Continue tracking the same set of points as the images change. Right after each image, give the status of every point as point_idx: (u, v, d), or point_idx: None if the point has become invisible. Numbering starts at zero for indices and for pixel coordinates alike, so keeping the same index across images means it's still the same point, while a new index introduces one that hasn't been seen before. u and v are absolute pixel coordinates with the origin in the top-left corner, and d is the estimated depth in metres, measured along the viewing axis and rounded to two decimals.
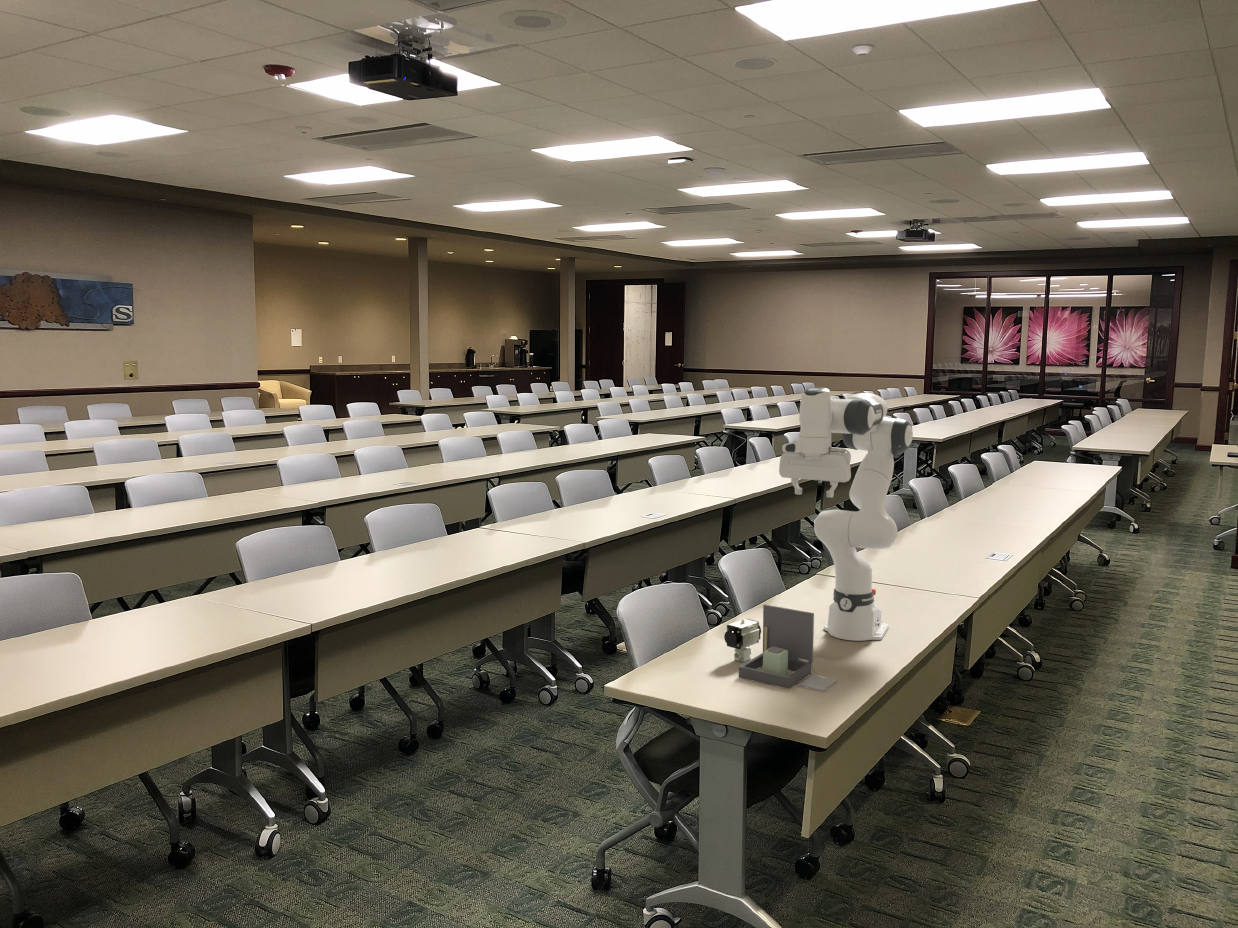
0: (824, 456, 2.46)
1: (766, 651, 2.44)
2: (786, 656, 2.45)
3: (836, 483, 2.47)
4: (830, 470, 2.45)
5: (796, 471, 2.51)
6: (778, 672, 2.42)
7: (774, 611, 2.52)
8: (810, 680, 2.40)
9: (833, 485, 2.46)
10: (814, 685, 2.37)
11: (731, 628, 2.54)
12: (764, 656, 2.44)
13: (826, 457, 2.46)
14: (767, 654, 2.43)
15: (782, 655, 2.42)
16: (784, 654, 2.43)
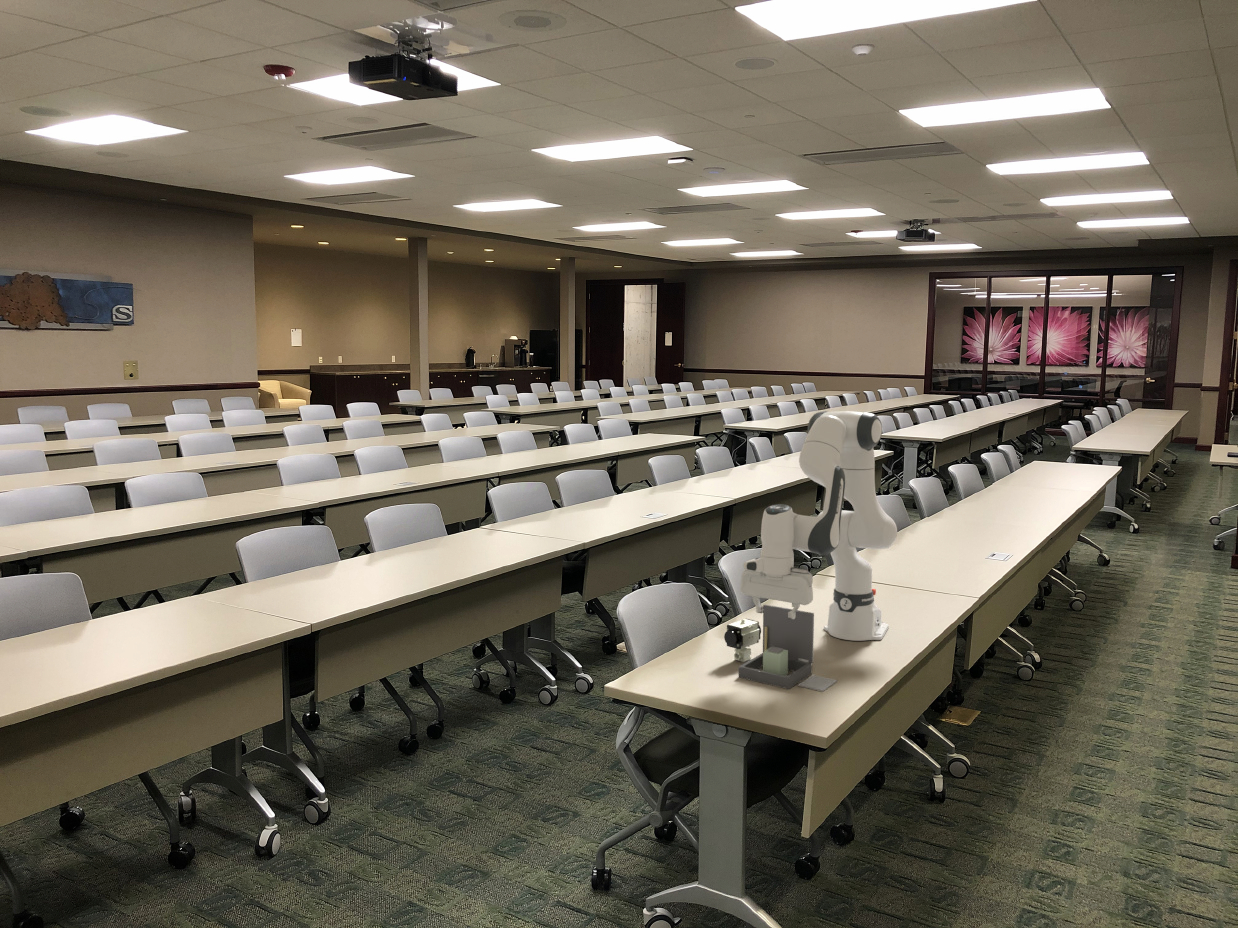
0: (786, 577, 2.38)
1: (766, 651, 2.44)
2: (786, 656, 2.45)
3: (798, 604, 2.39)
4: (791, 592, 2.38)
5: (757, 589, 2.44)
6: (778, 672, 2.42)
7: (774, 611, 2.52)
8: (810, 680, 2.40)
9: (795, 607, 2.38)
10: (814, 685, 2.37)
11: (731, 628, 2.54)
12: (764, 656, 2.44)
13: (788, 578, 2.38)
14: (767, 654, 2.43)
15: (782, 655, 2.42)
16: (784, 654, 2.43)
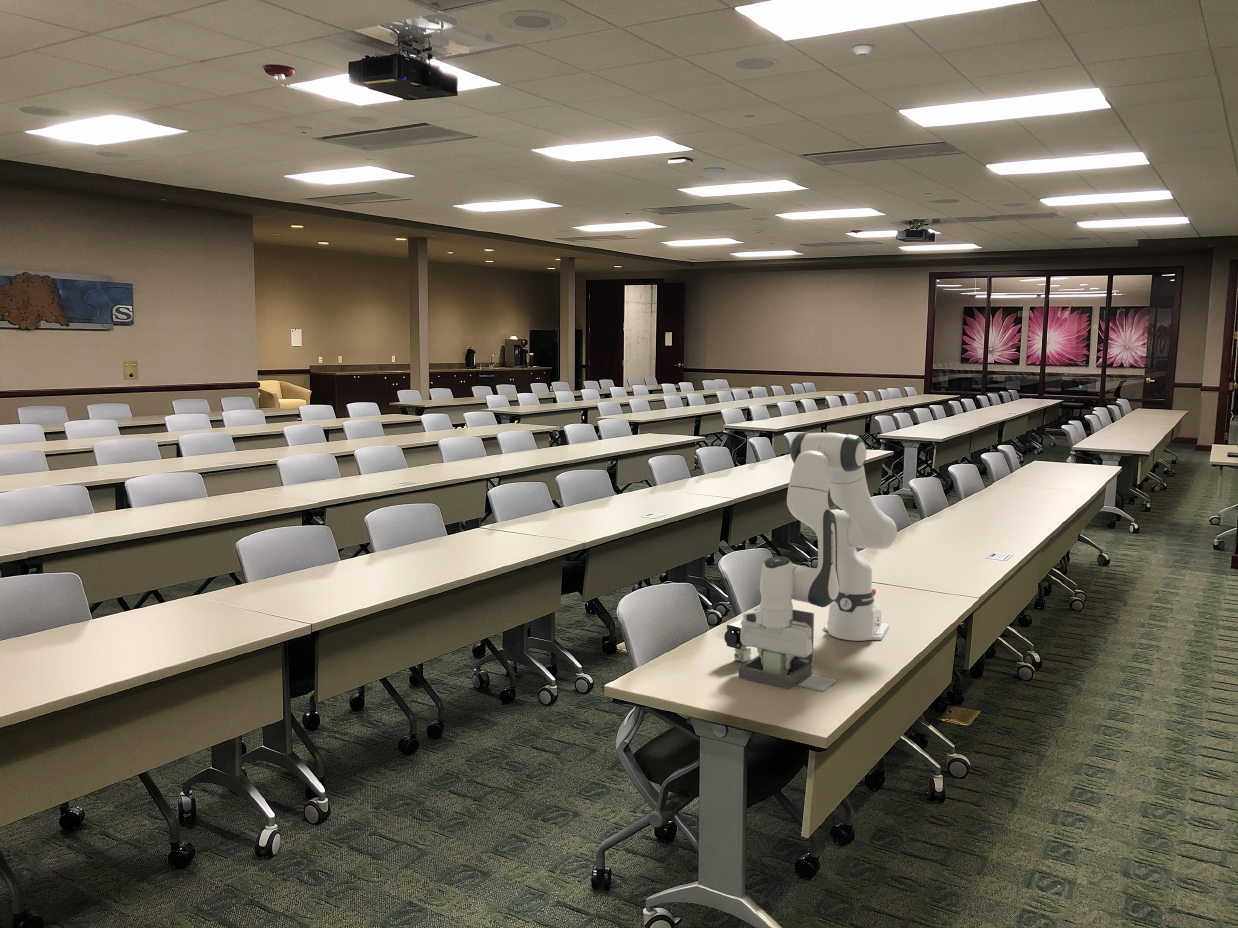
0: (785, 629, 2.40)
1: (766, 651, 2.44)
2: None
3: (792, 655, 2.42)
4: (790, 644, 2.40)
5: (757, 640, 2.46)
6: (778, 672, 2.42)
7: None
8: (810, 680, 2.40)
9: (789, 658, 2.41)
10: (814, 685, 2.37)
11: (731, 628, 2.54)
12: (764, 656, 2.44)
13: (787, 631, 2.40)
14: (767, 654, 2.43)
15: (782, 655, 2.42)
16: (784, 654, 2.43)
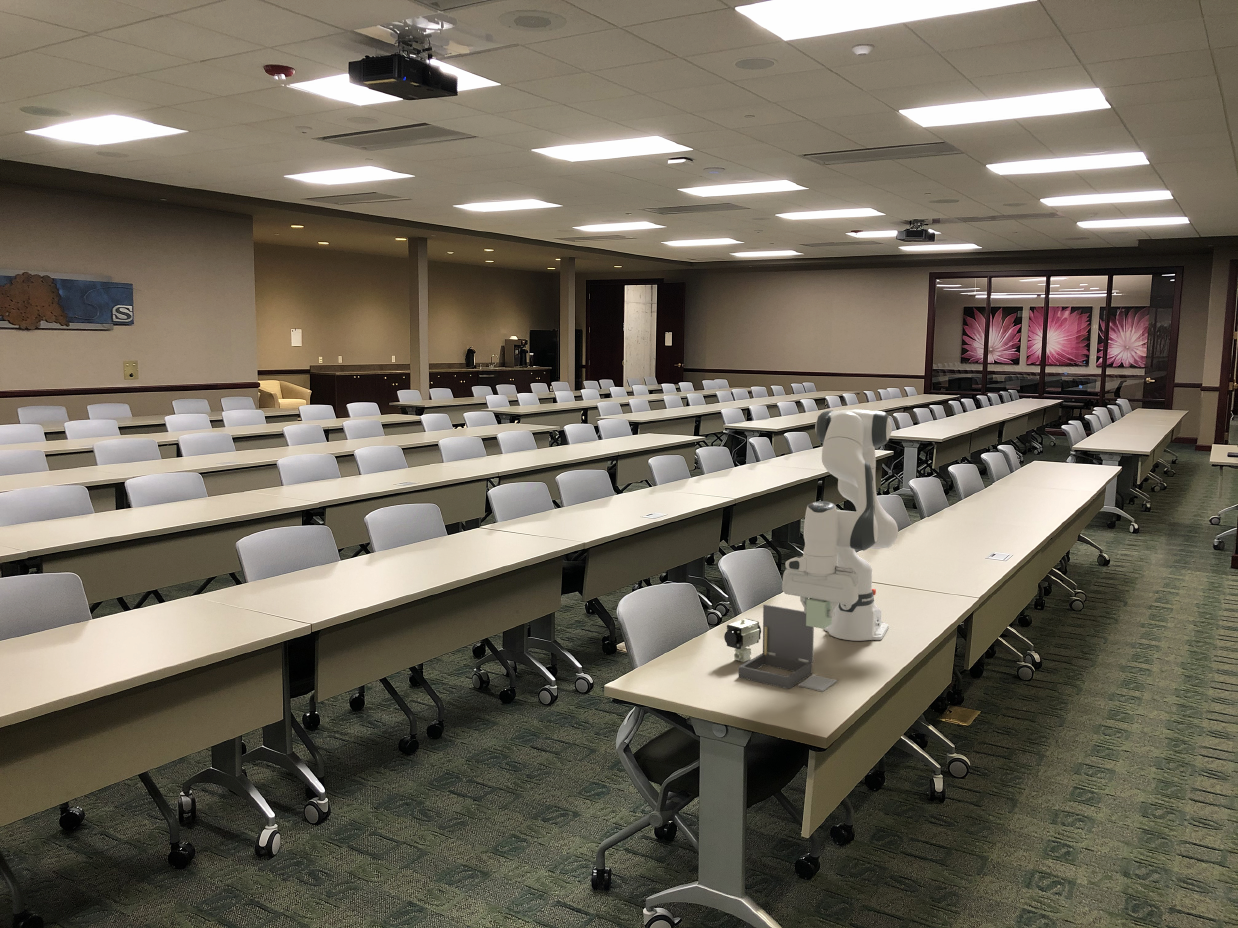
0: (830, 576, 2.32)
1: (810, 599, 2.36)
2: (830, 604, 2.36)
3: (837, 603, 2.34)
4: (836, 591, 2.31)
5: (800, 588, 2.37)
6: (822, 620, 2.34)
7: (774, 611, 2.52)
8: (810, 680, 2.40)
9: (834, 606, 2.33)
10: (814, 685, 2.37)
11: (731, 628, 2.54)
12: (808, 604, 2.36)
13: (832, 577, 2.32)
14: (811, 602, 2.35)
15: (826, 603, 2.34)
16: (828, 602, 2.35)
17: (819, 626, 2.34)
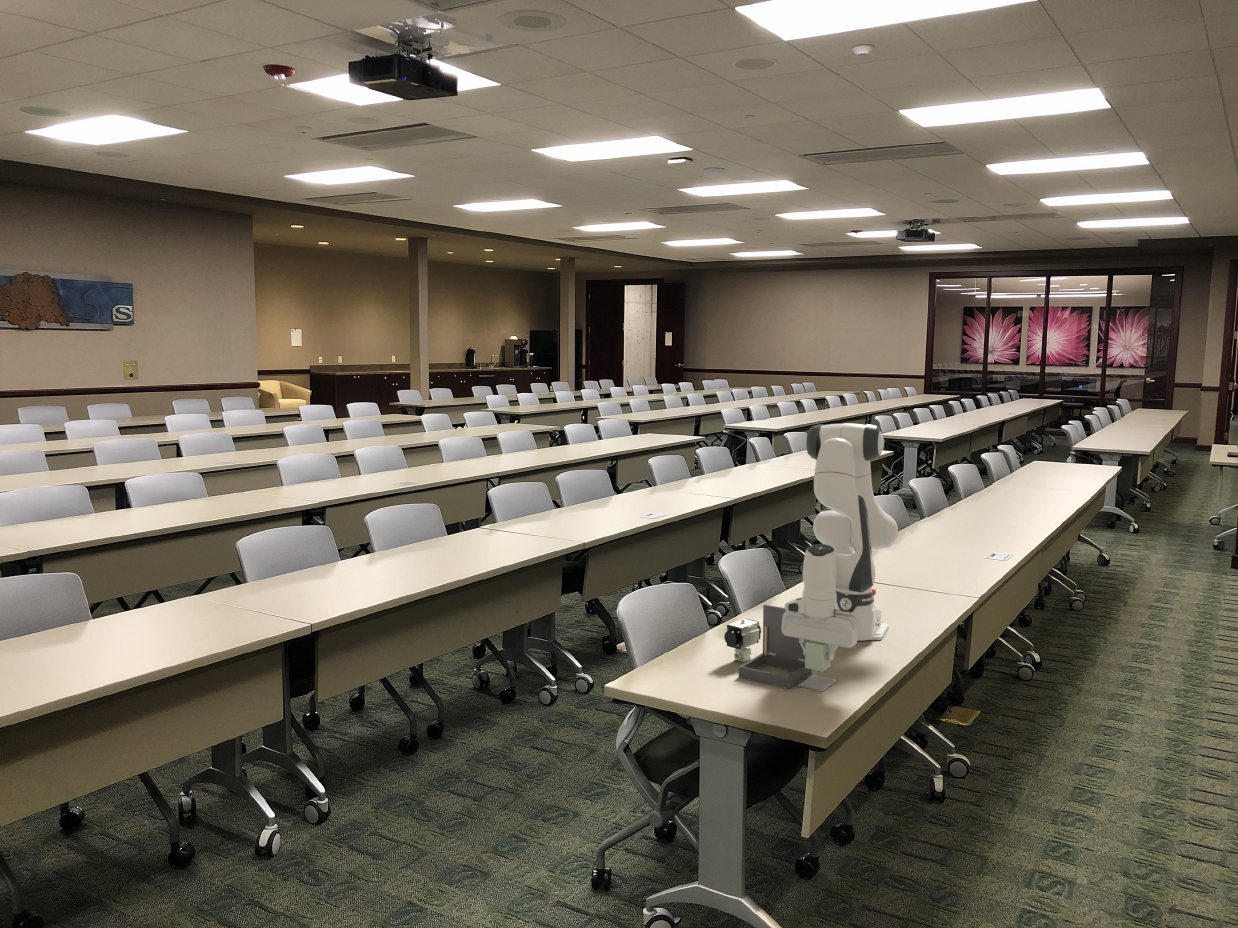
0: (829, 619, 2.33)
1: (809, 641, 2.37)
2: (829, 647, 2.38)
3: (836, 646, 2.35)
4: (835, 634, 2.33)
5: (799, 631, 2.39)
6: (821, 663, 2.35)
7: (774, 611, 2.52)
8: (810, 680, 2.40)
9: (833, 648, 2.34)
10: (814, 685, 2.37)
11: (731, 628, 2.54)
12: (807, 647, 2.37)
13: (831, 621, 2.33)
14: (810, 644, 2.36)
15: (825, 645, 2.35)
16: (827, 645, 2.36)
17: (818, 669, 2.36)
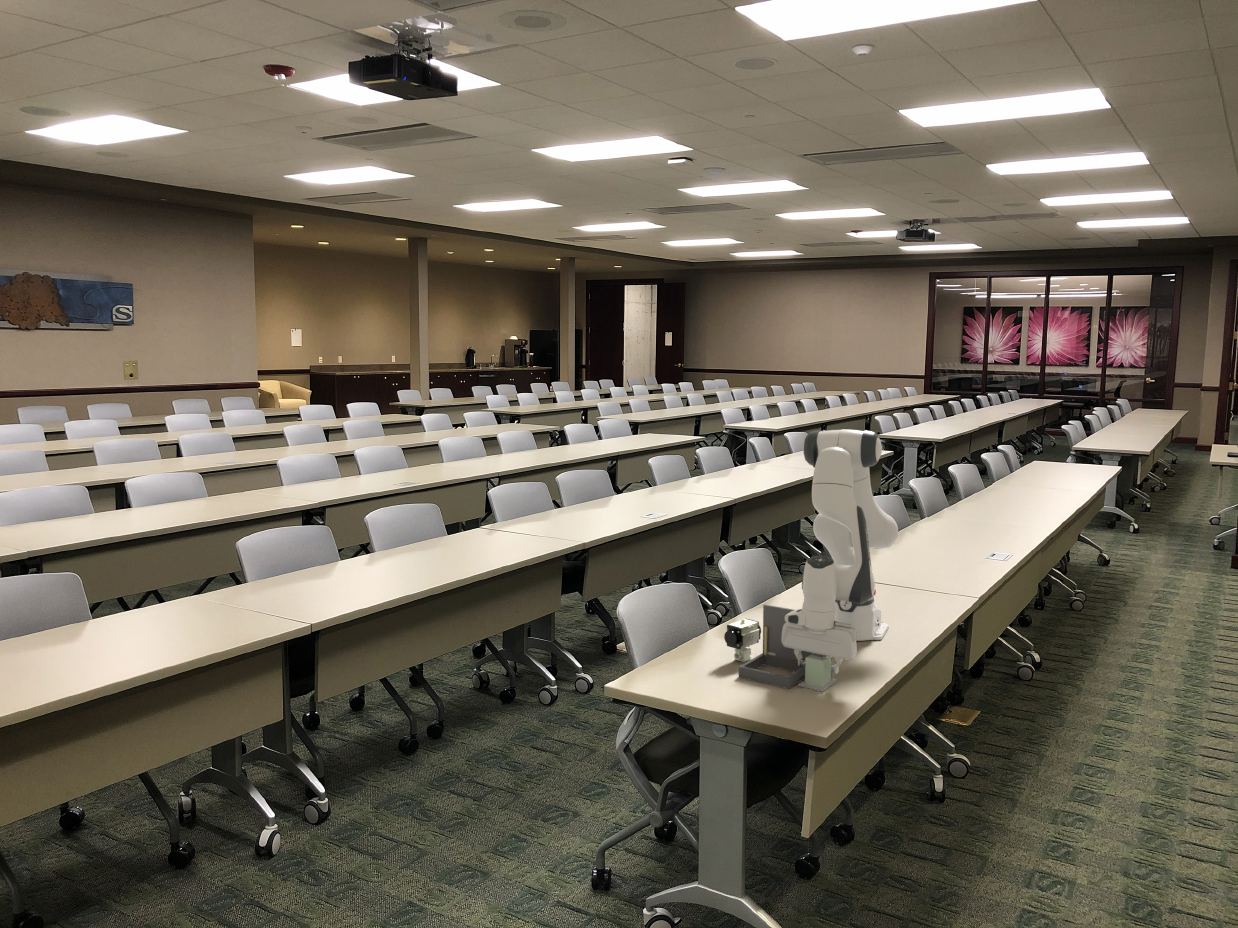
0: (829, 631, 2.34)
1: (809, 657, 2.38)
2: (829, 662, 2.38)
3: (841, 659, 2.34)
4: (835, 646, 2.33)
5: (799, 642, 2.39)
6: (821, 678, 2.36)
7: (774, 611, 2.52)
8: None
9: (838, 661, 2.34)
10: (814, 685, 2.37)
11: (731, 628, 2.54)
12: (807, 662, 2.38)
13: (831, 632, 2.33)
14: (810, 660, 2.37)
15: (825, 661, 2.36)
16: (827, 660, 2.37)
17: (818, 684, 2.36)
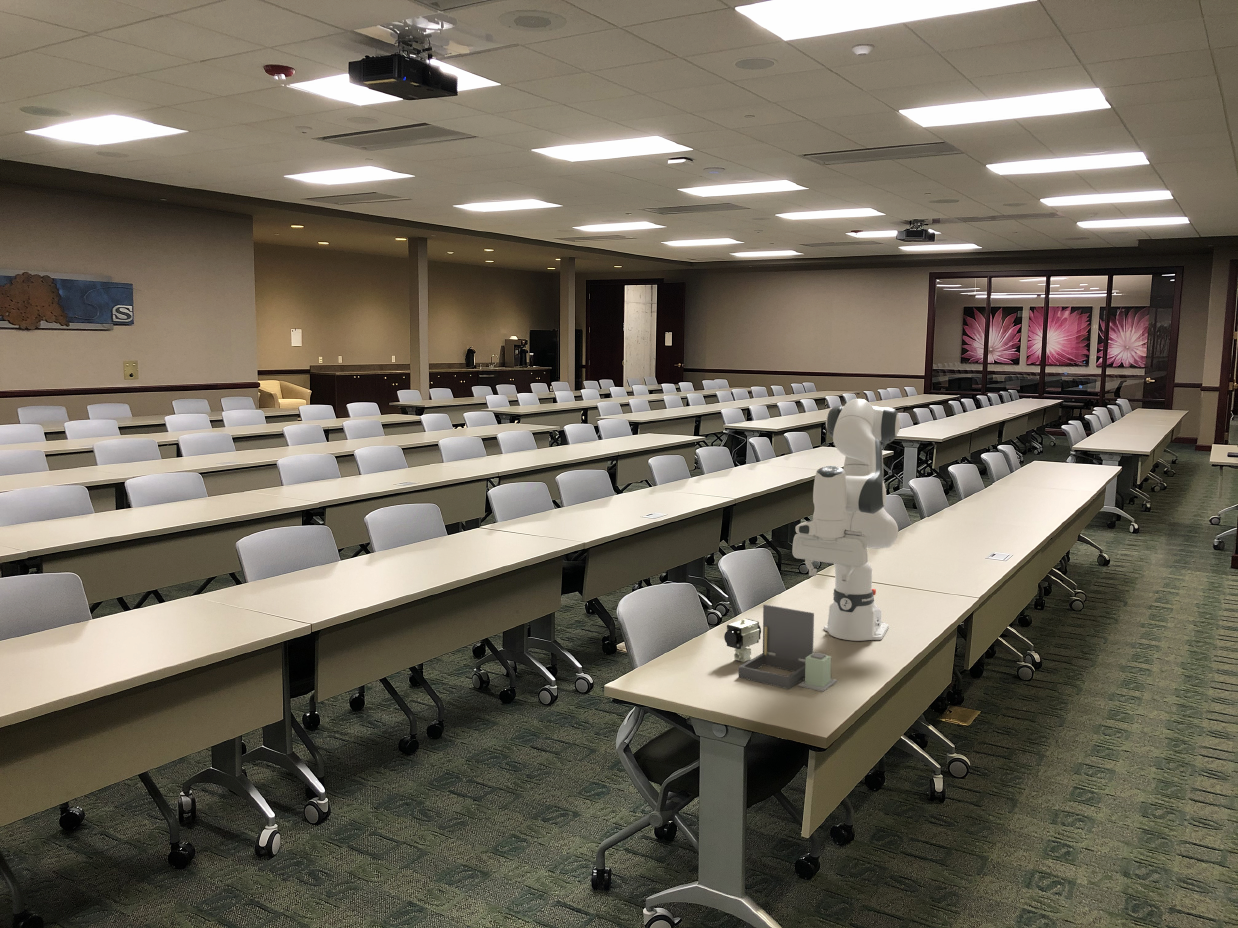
0: (839, 539, 2.36)
1: (809, 657, 2.38)
2: (829, 662, 2.38)
3: (852, 567, 2.37)
4: (845, 554, 2.35)
5: (810, 552, 2.41)
6: (821, 678, 2.36)
7: (774, 611, 2.52)
8: None
9: (849, 569, 2.36)
10: (814, 685, 2.37)
11: (731, 628, 2.54)
12: (807, 662, 2.38)
13: (842, 541, 2.35)
14: (810, 660, 2.37)
15: (825, 661, 2.36)
16: (827, 660, 2.37)
17: (818, 684, 2.36)
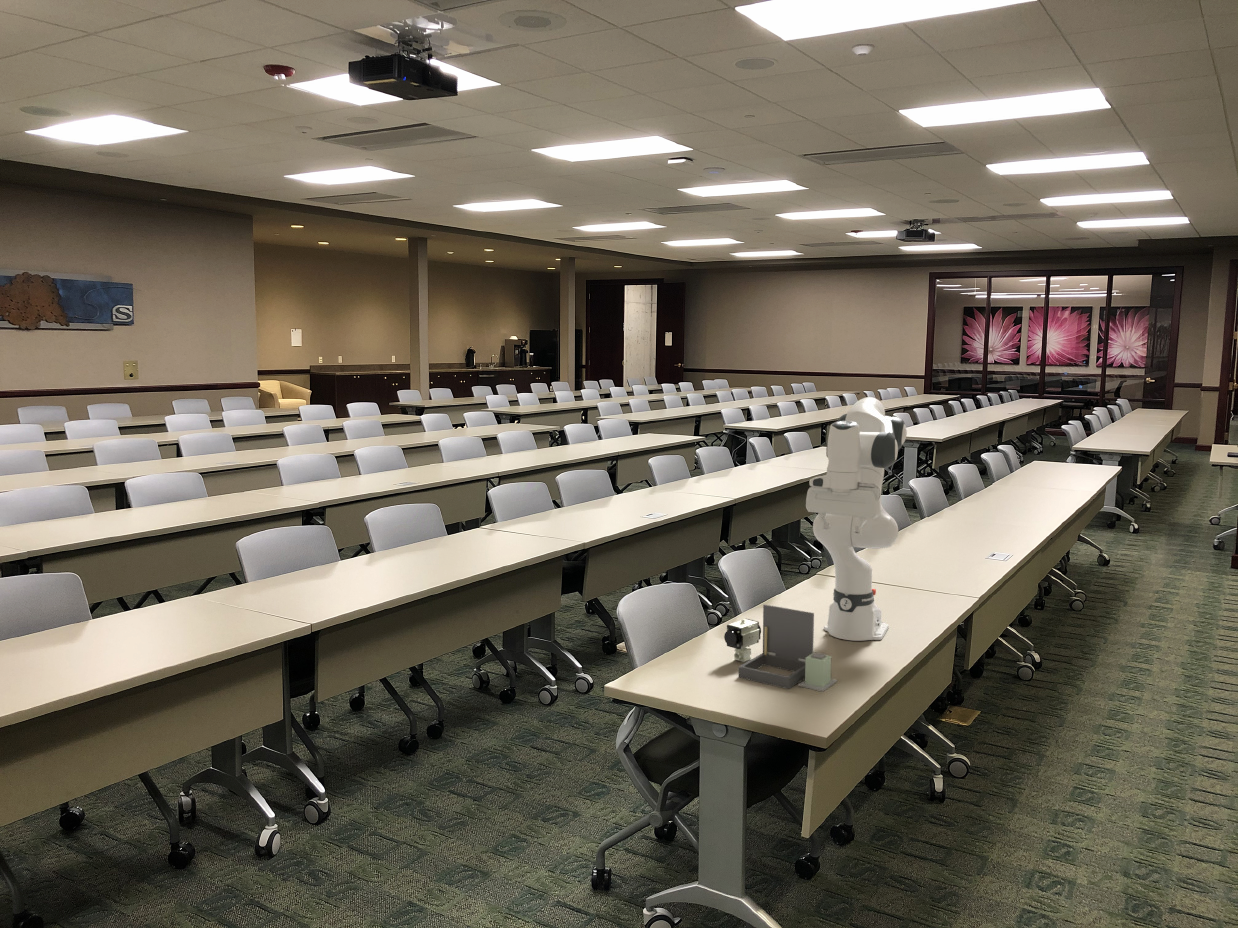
0: (853, 491, 2.41)
1: (809, 657, 2.38)
2: (829, 662, 2.38)
3: (865, 519, 2.41)
4: (858, 506, 2.40)
5: (823, 505, 2.46)
6: (821, 678, 2.36)
7: (774, 611, 2.52)
8: None
9: (862, 521, 2.41)
10: (814, 685, 2.37)
11: (731, 628, 2.54)
12: (807, 662, 2.38)
13: (855, 493, 2.40)
14: (810, 660, 2.37)
15: (825, 661, 2.36)
16: (827, 660, 2.37)
17: (818, 684, 2.36)
